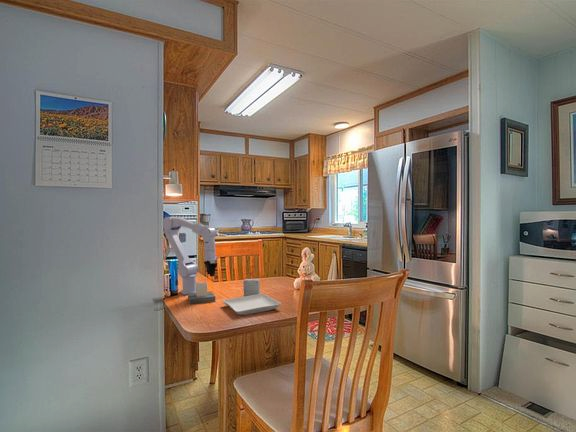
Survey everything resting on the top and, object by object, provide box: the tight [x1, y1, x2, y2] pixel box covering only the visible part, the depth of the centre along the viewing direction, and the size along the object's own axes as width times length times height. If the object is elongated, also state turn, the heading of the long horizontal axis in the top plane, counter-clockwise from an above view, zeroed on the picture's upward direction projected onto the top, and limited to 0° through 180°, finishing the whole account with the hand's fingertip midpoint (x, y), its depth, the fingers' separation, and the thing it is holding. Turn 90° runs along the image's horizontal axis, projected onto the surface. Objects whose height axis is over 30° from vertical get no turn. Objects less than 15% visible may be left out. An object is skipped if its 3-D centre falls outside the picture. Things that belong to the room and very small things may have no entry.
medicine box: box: [242, 278, 261, 297], centre depth 167 cm, size 8×4×9 cm, turn 84°
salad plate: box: [222, 293, 282, 316], centre depth 147 cm, size 21×21×3 cm
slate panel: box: [187, 290, 216, 305], centre depth 162 cm, size 12×12×3 cm
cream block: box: [196, 281, 208, 297], centre depth 162 cm, size 5×5×6 cm
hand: (211, 275), depth 173 cm, fingers open, 7 cm apart
